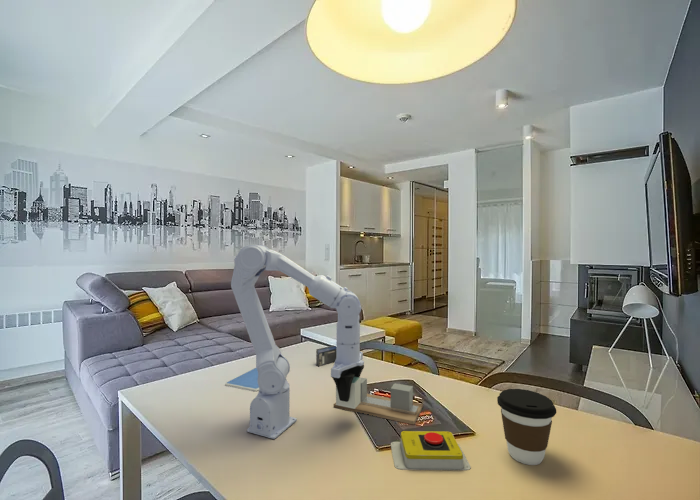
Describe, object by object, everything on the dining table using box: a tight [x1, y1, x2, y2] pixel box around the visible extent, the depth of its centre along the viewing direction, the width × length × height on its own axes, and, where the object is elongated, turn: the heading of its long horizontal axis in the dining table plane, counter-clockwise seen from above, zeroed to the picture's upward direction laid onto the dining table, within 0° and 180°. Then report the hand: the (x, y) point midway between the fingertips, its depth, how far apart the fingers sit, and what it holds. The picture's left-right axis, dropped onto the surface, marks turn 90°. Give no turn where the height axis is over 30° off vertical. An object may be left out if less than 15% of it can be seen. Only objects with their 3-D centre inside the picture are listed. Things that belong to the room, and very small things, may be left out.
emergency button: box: [390, 430, 472, 471], centre depth 71 cm, size 9×4×15 cm
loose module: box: [335, 377, 362, 409], centre depth 84 cm, size 4×5×6 cm
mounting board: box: [333, 393, 424, 425], centre depth 93 cm, size 10×22×1 cm, turn 66°
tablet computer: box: [224, 367, 291, 392], centre depth 114 cm, size 19×13×1 cm, turn 158°
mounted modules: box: [359, 376, 414, 411], centre depth 93 cm, size 4×18×5 cm, turn 66°
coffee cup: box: [496, 388, 557, 466], centre depth 71 cm, size 11×11×12 cm
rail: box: [360, 397, 418, 415], centre depth 93 cm, size 4×21×1 cm, turn 66°
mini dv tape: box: [315, 344, 336, 368], centre depth 127 cm, size 8×2×6 cm, turn 131°
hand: (347, 397), depth 84 cm, fingers closed on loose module, 4 cm apart
